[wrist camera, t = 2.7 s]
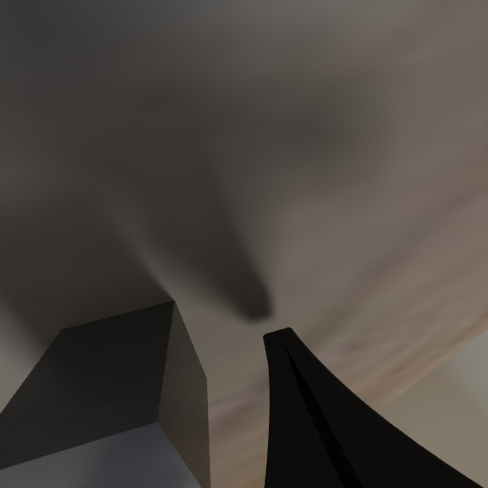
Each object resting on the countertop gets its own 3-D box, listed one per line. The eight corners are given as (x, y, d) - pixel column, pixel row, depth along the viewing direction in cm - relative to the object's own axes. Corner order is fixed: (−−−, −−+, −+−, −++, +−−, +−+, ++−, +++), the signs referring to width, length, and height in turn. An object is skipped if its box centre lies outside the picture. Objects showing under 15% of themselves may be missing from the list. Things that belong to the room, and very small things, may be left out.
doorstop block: (206, 377, 13) (210, 502, 8) (119, 402, 12) (76, 549, 8) (175, 298, 10) (156, 421, 6) (62, 328, 10) (-52, 485, 5)
